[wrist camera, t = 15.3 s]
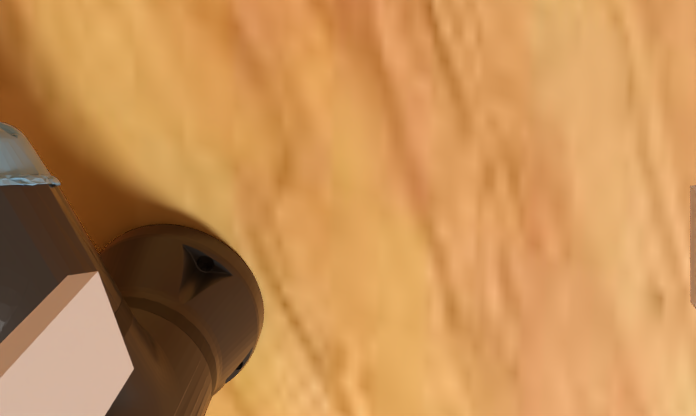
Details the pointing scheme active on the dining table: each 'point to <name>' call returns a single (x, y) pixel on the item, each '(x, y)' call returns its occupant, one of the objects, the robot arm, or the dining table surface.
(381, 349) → the dining table surface
